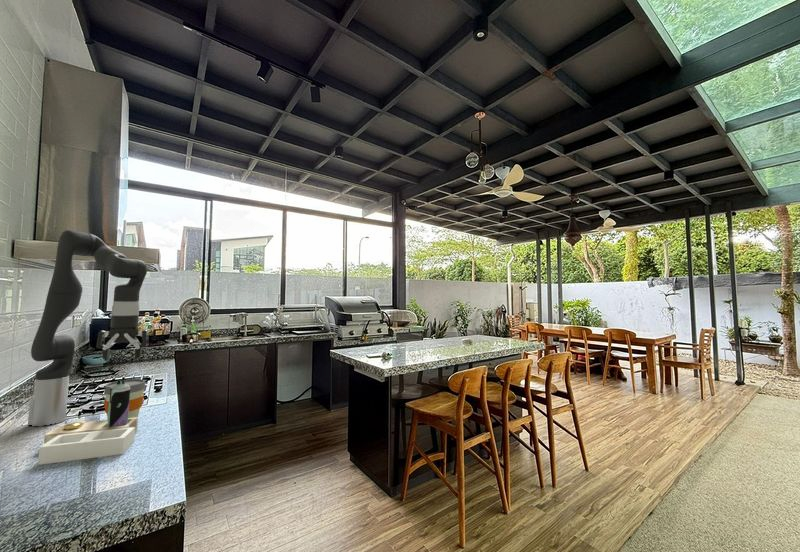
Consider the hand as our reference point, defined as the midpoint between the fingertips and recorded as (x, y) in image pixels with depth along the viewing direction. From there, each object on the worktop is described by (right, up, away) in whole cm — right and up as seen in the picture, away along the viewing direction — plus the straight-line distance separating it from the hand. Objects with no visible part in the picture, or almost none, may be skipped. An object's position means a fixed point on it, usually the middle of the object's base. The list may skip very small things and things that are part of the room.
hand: (122, 359), depth 115 cm
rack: (+1, -26, -13) cm, 29 cm away
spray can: (0, -27, -2) cm, 27 cm away
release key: (-12, -26, -6) cm, 29 cm away
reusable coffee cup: (-10, -28, +13) cm, 32 cm away
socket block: (-6, -27, -4) cm, 28 cm away
